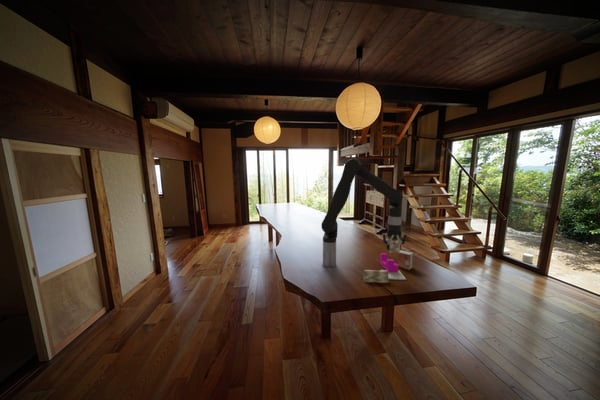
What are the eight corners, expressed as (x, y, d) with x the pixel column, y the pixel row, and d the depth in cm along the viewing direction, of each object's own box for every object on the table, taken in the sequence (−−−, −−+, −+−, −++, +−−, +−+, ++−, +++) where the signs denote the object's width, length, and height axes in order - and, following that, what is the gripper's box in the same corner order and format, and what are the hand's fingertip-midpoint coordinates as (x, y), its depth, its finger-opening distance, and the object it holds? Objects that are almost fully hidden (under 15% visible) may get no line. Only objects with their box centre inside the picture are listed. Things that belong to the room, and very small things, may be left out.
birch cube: (390, 252, 126) (390, 243, 125) (387, 249, 131) (387, 240, 131) (399, 253, 125) (400, 244, 125) (396, 249, 131) (396, 241, 130)
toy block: (398, 272, 132) (398, 260, 131) (388, 272, 132) (388, 260, 132) (389, 263, 147) (389, 253, 146) (380, 263, 147) (380, 253, 147)
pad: (385, 279, 125) (385, 277, 125) (380, 270, 136) (380, 269, 136) (405, 280, 124) (406, 278, 124) (399, 271, 135) (399, 270, 135)
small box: (397, 266, 142) (397, 252, 141) (399, 264, 146) (400, 249, 145) (409, 270, 137) (410, 254, 136) (412, 267, 141) (413, 252, 140)
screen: (364, 281, 123) (364, 272, 122) (363, 279, 125) (363, 269, 125) (389, 282, 121) (389, 273, 120) (387, 280, 124) (387, 270, 123)
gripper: (384, 224, 123) (383, 251, 125) (409, 224, 122) (408, 252, 124) (380, 221, 131) (379, 247, 133) (404, 222, 129) (403, 248, 131)
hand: (393, 249), depth 128 cm, fingers closed on birch cube, 5 cm apart
